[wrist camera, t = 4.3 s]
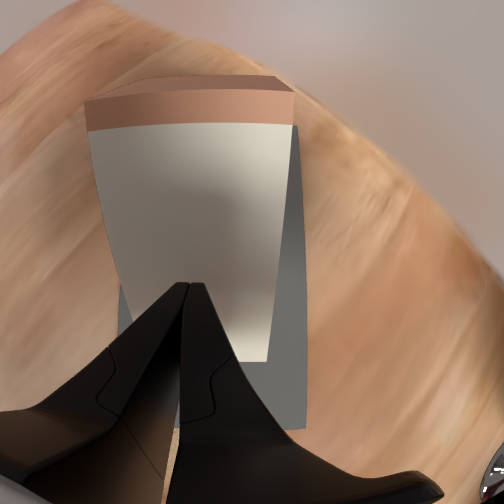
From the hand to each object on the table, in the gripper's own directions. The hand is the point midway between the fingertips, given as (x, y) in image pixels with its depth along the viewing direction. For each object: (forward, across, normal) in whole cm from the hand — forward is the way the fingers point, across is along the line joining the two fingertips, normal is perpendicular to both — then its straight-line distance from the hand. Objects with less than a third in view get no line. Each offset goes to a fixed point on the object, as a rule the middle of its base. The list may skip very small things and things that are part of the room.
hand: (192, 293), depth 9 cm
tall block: (+3, 0, +4) cm, 5 cm away
